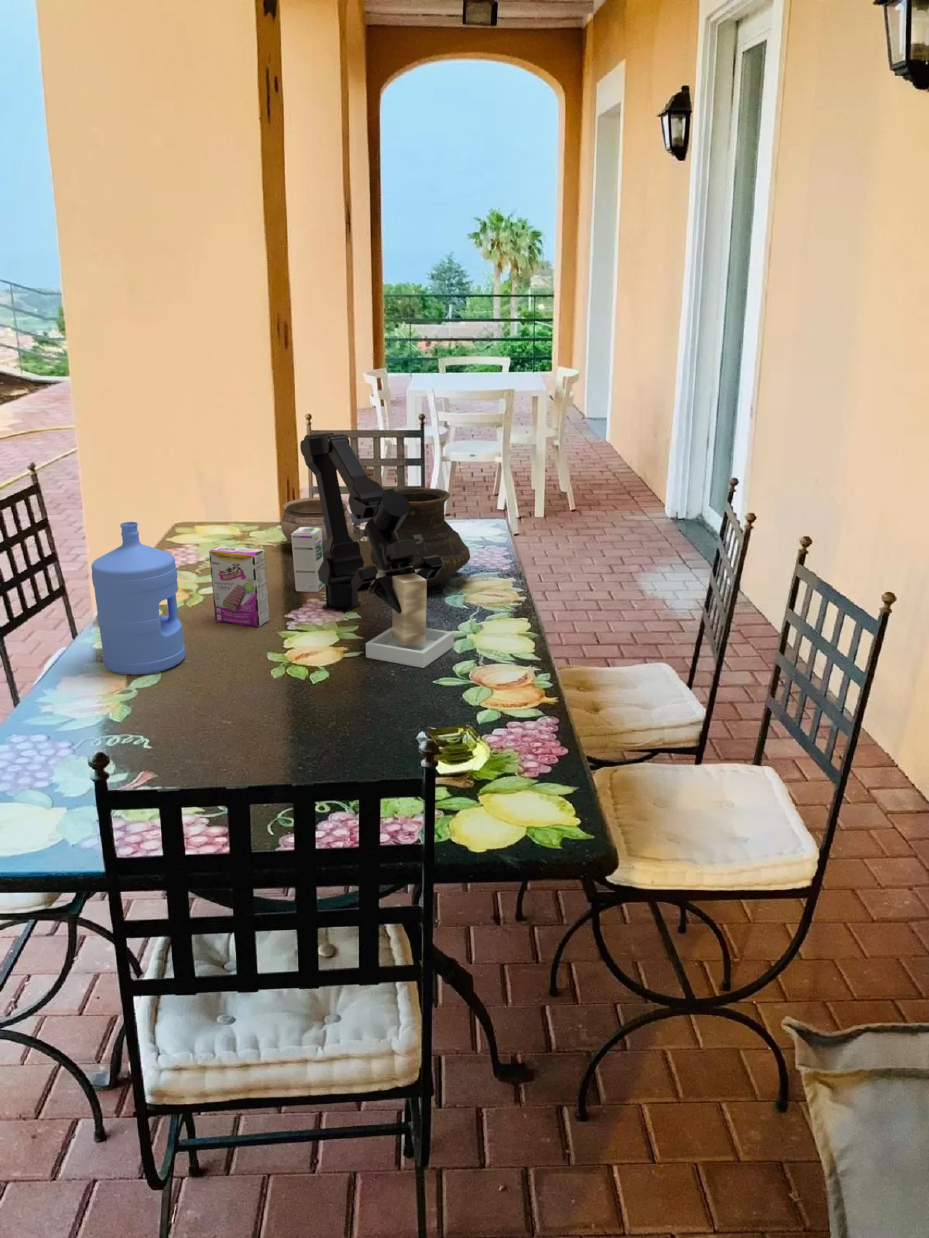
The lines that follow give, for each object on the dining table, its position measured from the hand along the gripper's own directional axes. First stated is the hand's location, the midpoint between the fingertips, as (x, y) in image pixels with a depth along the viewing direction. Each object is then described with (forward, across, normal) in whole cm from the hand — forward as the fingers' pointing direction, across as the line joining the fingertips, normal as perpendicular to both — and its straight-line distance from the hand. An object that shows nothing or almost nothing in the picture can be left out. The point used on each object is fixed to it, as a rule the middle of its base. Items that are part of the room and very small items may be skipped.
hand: (412, 610), depth 206 cm
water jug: (-10, -47, +24) cm, 54 cm away
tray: (+6, 0, +7) cm, 9 cm away
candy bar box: (-19, -23, +33) cm, 44 cm away
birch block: (+4, 0, +6) cm, 7 cm away
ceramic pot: (-22, +24, +35) cm, 48 cm away
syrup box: (-29, -1, +43) cm, 52 cm away
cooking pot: (-51, +14, +65) cm, 84 cm away
